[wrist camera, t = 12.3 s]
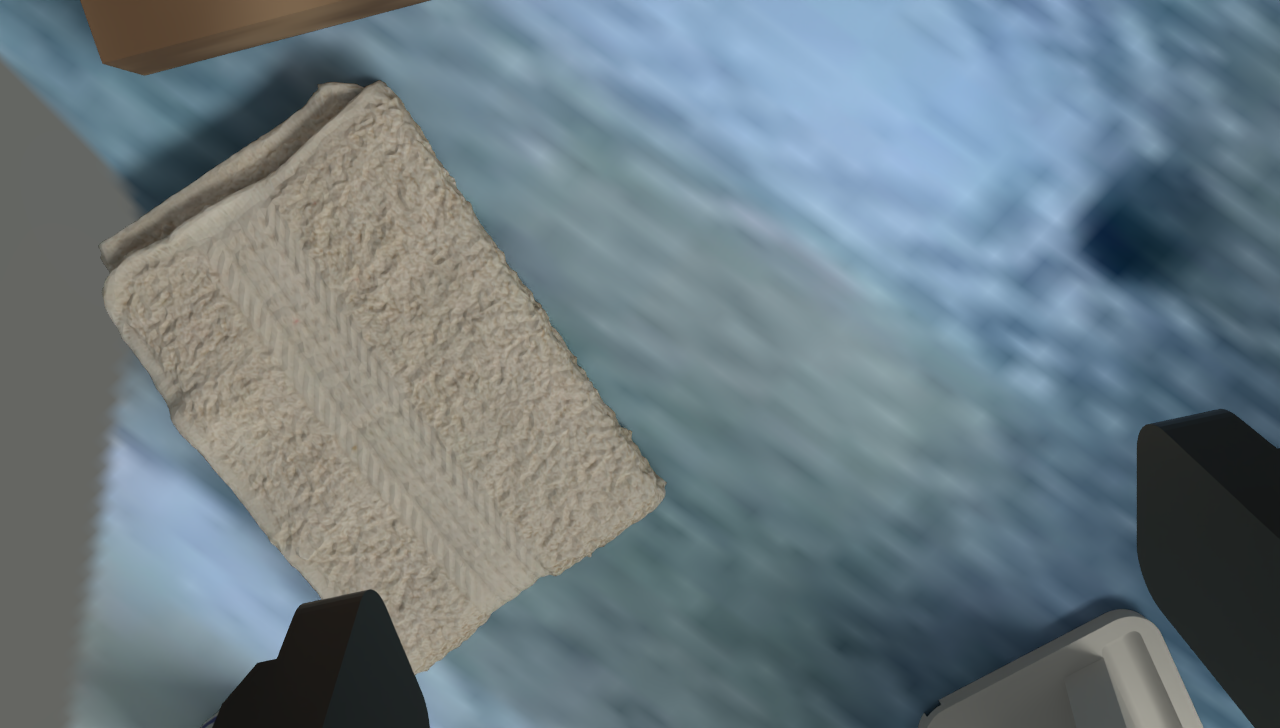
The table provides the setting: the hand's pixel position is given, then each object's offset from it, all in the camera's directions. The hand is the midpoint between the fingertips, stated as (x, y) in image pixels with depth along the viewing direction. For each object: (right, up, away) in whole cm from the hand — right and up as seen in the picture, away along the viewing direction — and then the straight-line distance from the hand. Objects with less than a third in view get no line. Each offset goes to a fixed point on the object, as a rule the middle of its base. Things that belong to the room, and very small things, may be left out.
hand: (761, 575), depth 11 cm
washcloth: (-10, +2, +25) cm, 27 cm away
